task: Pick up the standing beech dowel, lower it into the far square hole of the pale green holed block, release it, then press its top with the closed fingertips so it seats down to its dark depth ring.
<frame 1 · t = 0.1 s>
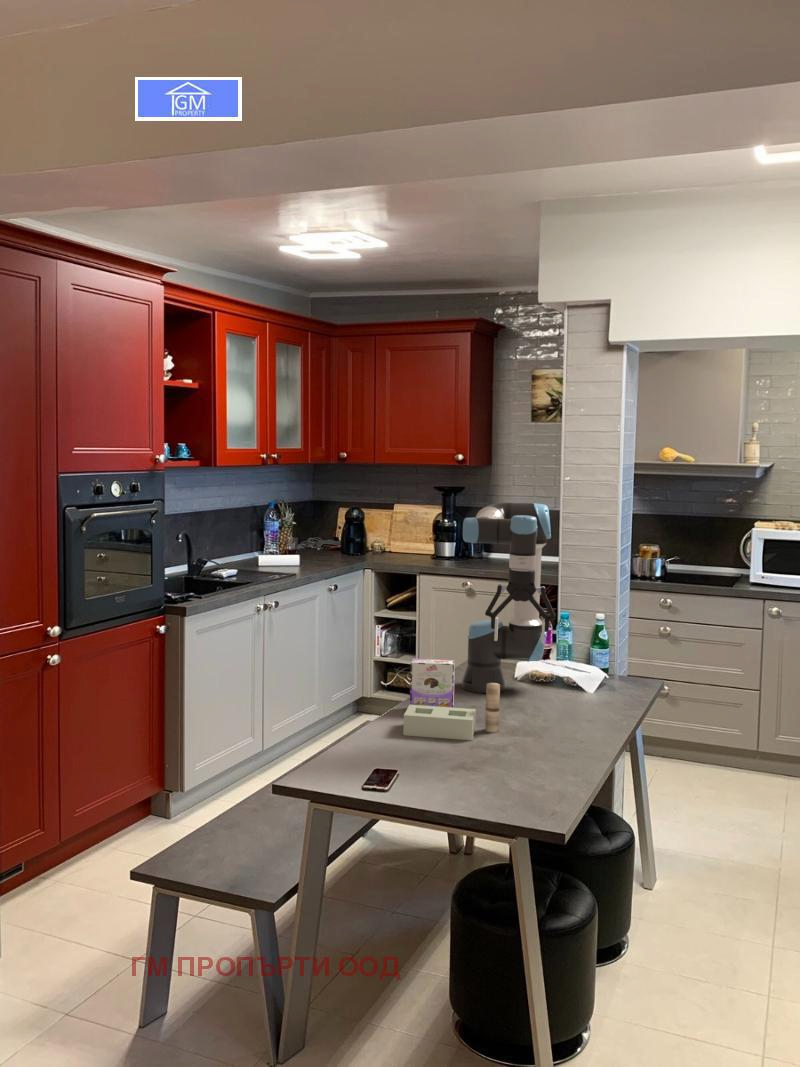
hand: (519, 641, 277), 28 cm above the table, fingers open, 13 cm apart
dowel: (491, 730, 283), on the table
pale green holed block: (439, 731, 281), on the table
candy box: (431, 712, 301), on the table
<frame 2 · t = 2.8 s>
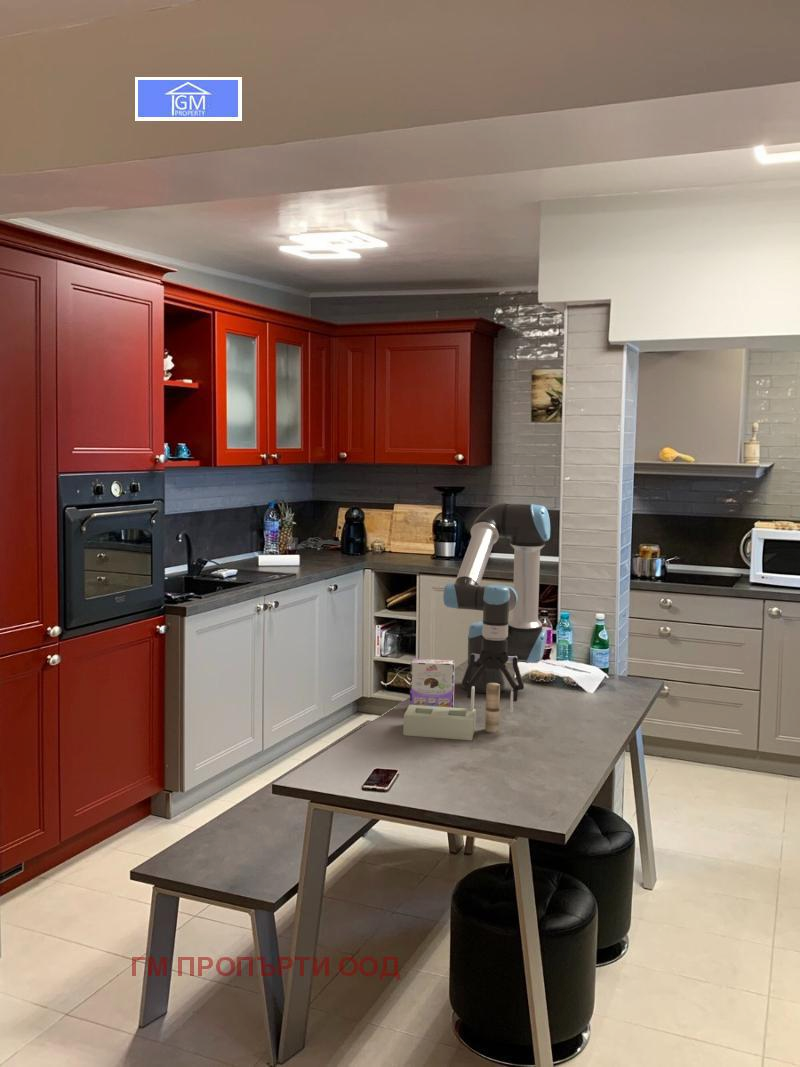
hand: (491, 710, 283), 6 cm above the table, fingers open, 11 cm apart
nothing on the table moved.
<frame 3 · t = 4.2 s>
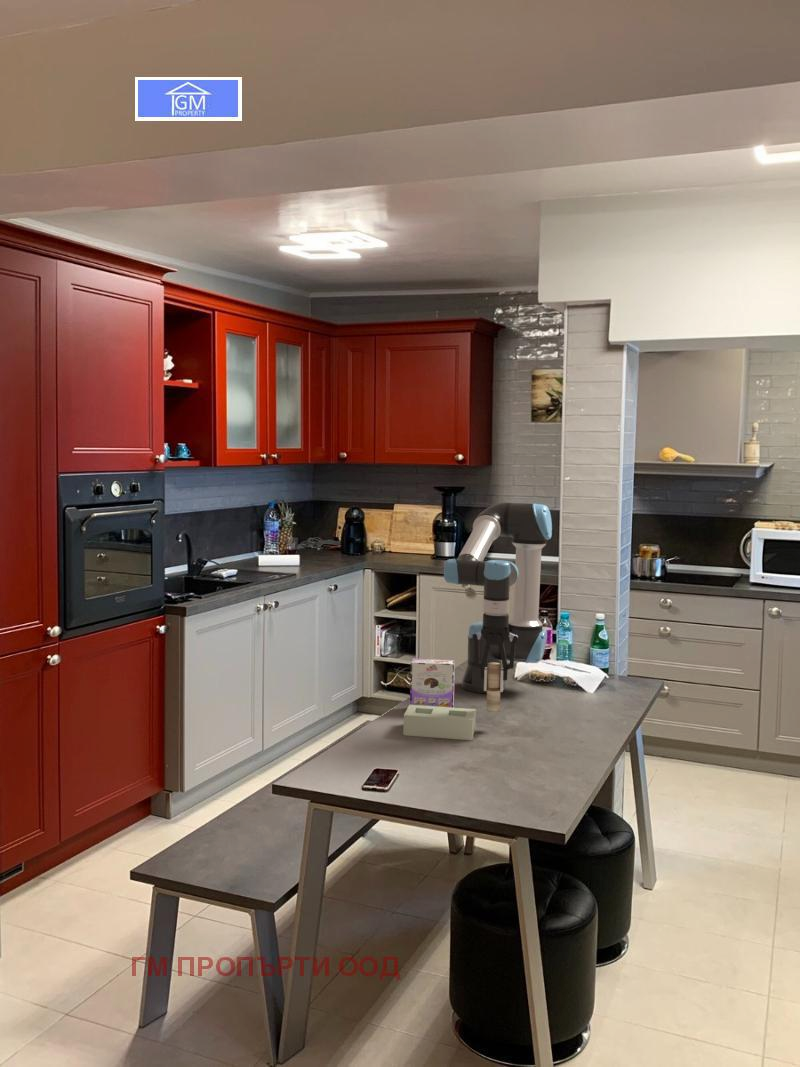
hand: (493, 690, 283), 12 cm above the table, fingers closed on dowel, 4 cm apart
dowel: (493, 710, 283), point 6 cm above the table, touching gripper
everything else where it was.
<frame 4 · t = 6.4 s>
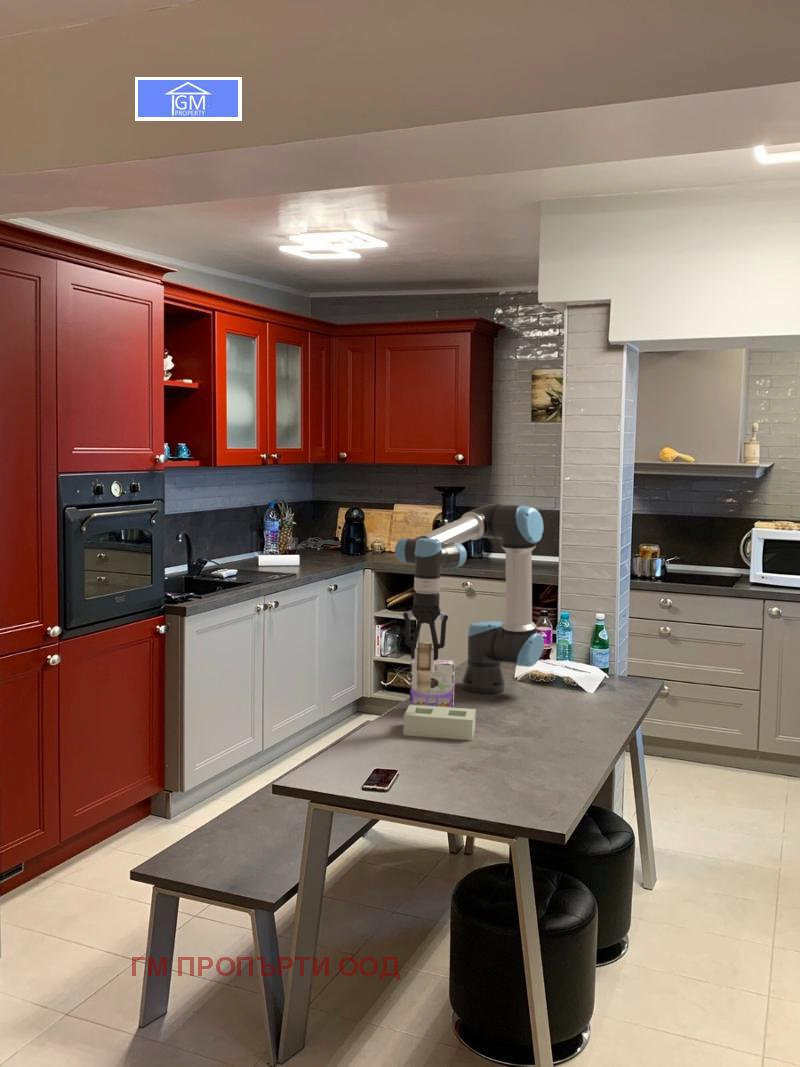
hand: (424, 670, 280), 18 cm above the table, fingers closed on dowel, 4 cm apart
dowel: (423, 690, 280), point 12 cm above the table, touching gripper
everything else where it was.
when the fingers open (6 cm above the table, at t = 8.5 s): dowel stays where it is, resting in pale green holed block.
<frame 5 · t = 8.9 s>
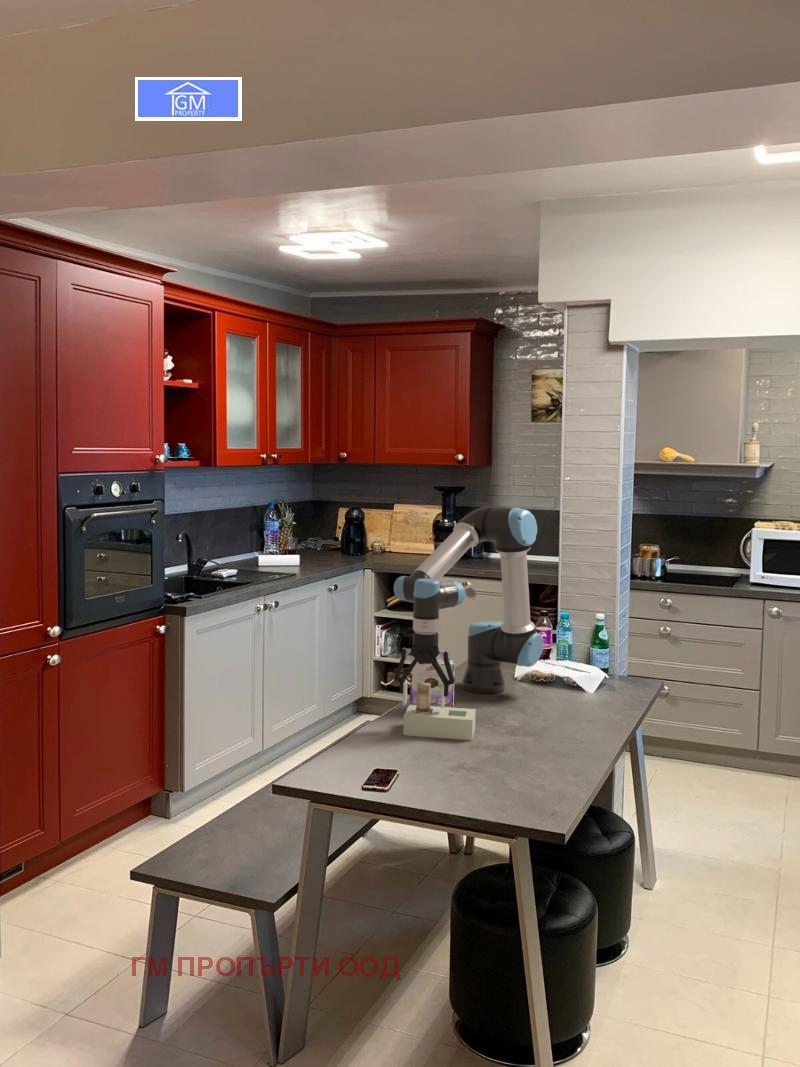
hand: (423, 705, 281), 8 cm above the table, fingers open, 10 cm apart
dowel: (422, 730, 282), resting in pale green holed block
everything else where it was.
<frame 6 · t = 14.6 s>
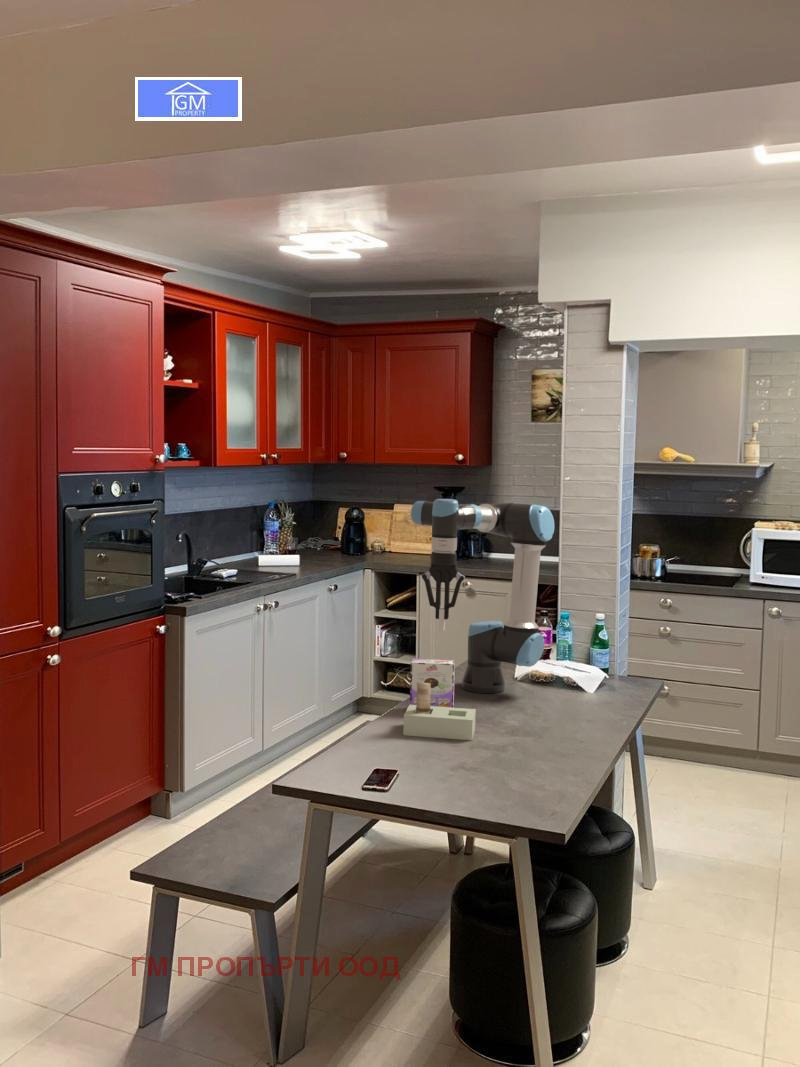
hand: (441, 629, 284), 29 cm above the table, fingers closed
nothing on the table moved.
at the end: dowel 0.0 cm from the target spot on the pale green holed block, point 0.0 cm above the pale green holed block's base; dowel tilted 0°; the gripper is holding nothing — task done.
